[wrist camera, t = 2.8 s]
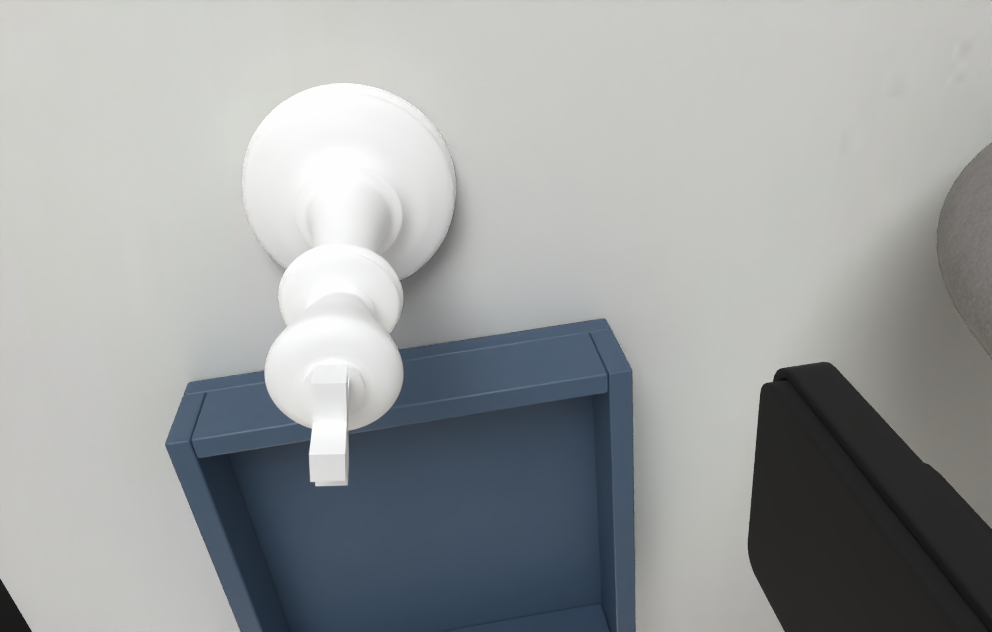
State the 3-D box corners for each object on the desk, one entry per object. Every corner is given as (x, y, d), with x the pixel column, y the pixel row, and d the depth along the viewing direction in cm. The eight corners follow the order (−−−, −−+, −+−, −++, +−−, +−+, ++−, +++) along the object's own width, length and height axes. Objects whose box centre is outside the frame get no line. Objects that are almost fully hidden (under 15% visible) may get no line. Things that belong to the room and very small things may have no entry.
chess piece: (251, 280, 19) (145, 614, 10) (234, 76, 17) (80, 289, 8) (450, 283, 20) (505, 595, 11) (461, 88, 17) (542, 294, 9)
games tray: (287, 655, 26) (278, 728, 24) (187, 381, 20) (163, 444, 18) (614, 596, 27) (636, 663, 24) (605, 316, 21) (632, 369, 19)
